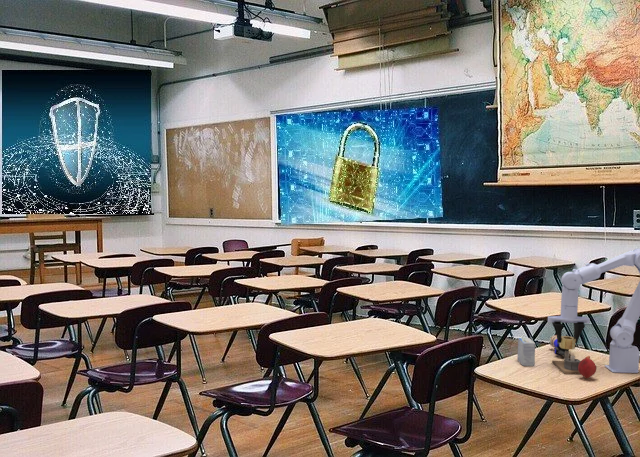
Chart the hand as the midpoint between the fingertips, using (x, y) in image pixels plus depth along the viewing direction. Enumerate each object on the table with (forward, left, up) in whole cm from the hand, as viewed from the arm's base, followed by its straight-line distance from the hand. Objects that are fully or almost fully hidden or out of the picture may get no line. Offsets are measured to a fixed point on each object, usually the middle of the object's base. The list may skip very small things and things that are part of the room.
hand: (567, 342), depth 269 cm
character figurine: (-3, -17, -9) cm, 20 cm away
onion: (-2, +15, -9) cm, 18 cm away
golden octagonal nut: (0, 0, -2) cm, 2 cm away
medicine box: (+14, -2, -9) cm, 17 cm away
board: (-1, +4, -9) cm, 10 cm away
